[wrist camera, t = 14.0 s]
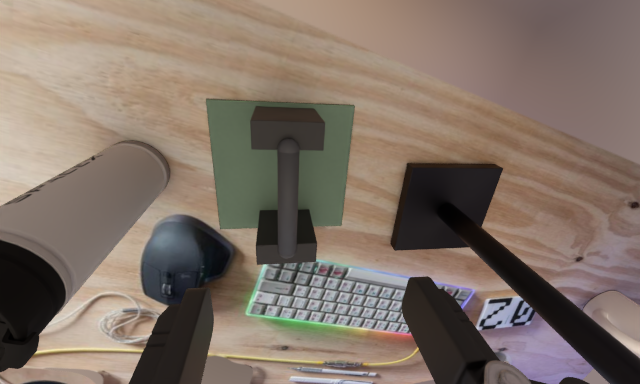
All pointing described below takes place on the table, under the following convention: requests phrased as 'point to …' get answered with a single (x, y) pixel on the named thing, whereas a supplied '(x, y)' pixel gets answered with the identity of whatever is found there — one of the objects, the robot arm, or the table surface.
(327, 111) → the desk mat
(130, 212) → the travel mug
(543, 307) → the stand
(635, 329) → the mug
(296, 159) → the square-ended dumbbell
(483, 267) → the table surface
